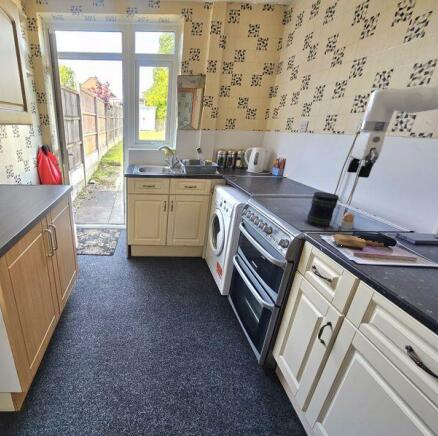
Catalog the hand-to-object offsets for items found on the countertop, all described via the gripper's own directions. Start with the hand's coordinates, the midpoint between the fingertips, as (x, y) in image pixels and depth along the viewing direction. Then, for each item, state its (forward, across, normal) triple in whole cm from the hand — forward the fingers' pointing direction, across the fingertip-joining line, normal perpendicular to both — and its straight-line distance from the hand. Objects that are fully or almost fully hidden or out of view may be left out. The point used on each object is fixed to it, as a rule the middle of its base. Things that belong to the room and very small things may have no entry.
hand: (356, 174), depth 95 cm
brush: (+28, -6, -6) cm, 29 cm away
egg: (+28, +19, -11) cm, 35 cm away
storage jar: (+28, +18, +1) cm, 33 cm away
